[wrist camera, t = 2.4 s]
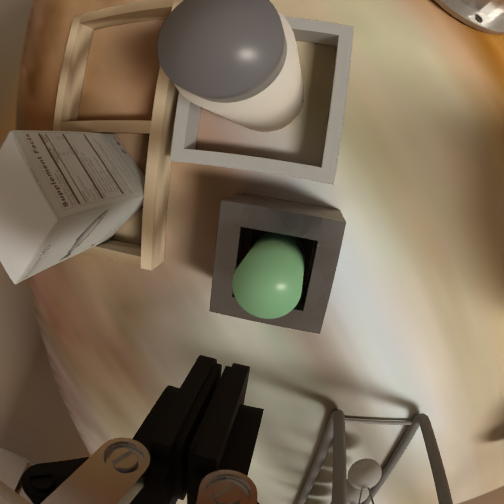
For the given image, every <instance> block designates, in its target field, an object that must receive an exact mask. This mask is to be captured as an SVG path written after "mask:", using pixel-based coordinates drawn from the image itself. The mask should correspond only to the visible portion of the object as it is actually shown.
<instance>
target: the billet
mask: <svg viewBox="0 0 504 504" xmlns="http://www.w3.org/2000/svg"><path fill="white" fill-rule="evenodd" d="M157 53H158V59H159V62H160V65H161V67H162V69H163V71H164V73H165V74H166V76H167V77H168V78H169V79H170V80H171V81H172V82H173V83H174V85H175V86H176V88H177V89H178V91H179V92H180V93H181V94H182V95H183V96H184V97H185V98H186V99H188V100H189V101H190V102H192V103H194V104H195V105H197V106H200V107H202V108H205V109H207V110H209V111H212V112H214V113H216V114H218V115H221V116H223V117H225V118H227V119H230V120H232V121H234V122H236V123H238V124H240V125H243V126H245V127H247V128H249V129H252V130H255V131H260V132H270V131H275V130H278V129H281V128H283V127H285V126H287V125H288V124H290V123H291V122H292V121H293V120H294V119H295V118H296V117H297V115H298V114H299V112H300V111H301V108H302V106H303V102H304V88H303V81H302V75H301V69H300V63H299V57H298V51H297V46H296V40H295V36H294V33H293V30H292V28H291V26H290V24H289V23H288V21H287V20H286V19H285V18H284V16H283V15H282V14H281V13H280V12H278V11H277V10H276V8H275V7H274V6H273V4H272V3H271V2H270V1H269V0H183V1H182V2H181V3H180V4H179V5H177V6H176V7H175V8H174V9H173V11H172V12H171V13H170V14H169V16H168V17H167V18H166V20H165V22H164V24H163V26H162V28H161V30H160V34H159V37H158V43H157Z"/></svg>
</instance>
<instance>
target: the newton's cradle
mask: <svg viewBox="0 0 504 504" xmlns="http://www.w3.org/2000/svg"><path fill="white" fill-rule="evenodd" d="M345 422H349V423H365V424H389V425H409V426H408V428H407V430H406V432H405V434H404V436H403V437H402V439H401V441H400V443H399V444H398V446H397V448H396V450H395V451H394V453H393V455H392V456H391V458H390V460H389V461H388V463H387V465H386V466H385V468H384V469H383V471H382V470H381V467H380V465H379V463H377V462H376V461H375V460H372V459H361V460H359V461H357V462H355V463H354V464H353V465H352V466H351V467H350V469H349V471H348V479H347V480H346V437H345ZM419 425H420V427H421V431H422V434H423V438H424V441H425V445H426V449H427V453H428V457H429V461H430V465H431V469H432V473H433V478H434V482H435V487H436V491H437V496H438V501H439V504H453V502H452V498H451V494H450V489H449V485H448V481H447V478H446V474H445V470H444V466H443V463H442V459H441V456H440V452H439V449H438V445H437V442H436V439H435V435H434V432H433V429H432V426H431V423H430V420H429V418H428V416H427V415H425V414H423V413H422V414H417V415H416V416H415V417H414V418H413V419H412V421H376V420H358V419H345V417H344V413H343V411H341V410H334V411H333V412H332V414H331V416H330V418H329V421H328V424H327V427H326V430H325V432H324V435H323V438H322V441H321V443H320V446H319V449H318V452H317V454H316V457H315V459H314V462H313V465H312V467H311V470H310V472H309V475H308V477H307V479H306V482H305V484H304V487H303V489H302V491H301V494H300V496H299V498H298V501H297V503H296V504H304V503H305V501H306V499H307V497H308V495H309V493H310V491H311V489H312V486H313V484H314V482H315V480H316V478H317V475H318V473H319V471H320V468H321V466H322V464H323V461H324V459H325V457H326V454H327V452H328V449H329V447H330V444H331V442H332V439H333V482H332V501H331V503H330V504H369V503H370V501H371V500H372V504H374V502H373V497H374V496H375V494H376V493H377V492H378V490H379V489H380V487H381V486H382V485H383V483H384V482H385V480H386V479H387V477H388V476H389V474H390V473H391V471H392V470H393V468H394V467H395V465H396V464H397V462H398V461H399V459H400V458H401V456H402V454H403V453H404V451H405V449H406V448H407V446H408V444H409V443H410V441H411V439H412V438H413V436H414V434H415V432H416V431H417V429H418V427H419ZM370 488H371V489H370Z"/></svg>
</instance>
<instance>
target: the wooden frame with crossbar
mask: <svg viewBox="0 0 504 504" xmlns="http://www.w3.org/2000/svg"><path fill="white" fill-rule="evenodd" d="M182 1H183V0H148V1H141V2H135V3H130V4H124V5H119V6H114V7H109V8H105V9H101V10H96V11H92V12H88V13H85V14H81V15H77V16H74V19H73V23H72V26H71V30H70V34H69V38H68V42H67V47H66V51H65V55H64V60H63V65H62V70H61V75H60V81H59V87H58V93H57V100H56V107H55V114H54V123H53V131H75V132H93V133H134V134H150V136H149V145H148V154H147V164H146V175H145V187H144V201H143V218H142V240H141V246H139V245H134V244H129V243H124V242H120V241H115V240H110V239H109V240H107V241H105V242H103V243H101V244H99V245H96V246H94V247H92V248H90V249H87V250H85V251H83V252H81V253H82V254H86V255H90V256H94V257H97V258H101V259H105V260H110V261H114V262H118V263H122V264H126V265H130V266H134V267H138V268H143V269H147V270H152V269H154V268H155V267H157V266H158V265H159V264H161V263H162V262H164V248H165V231H166V217H167V204H168V192H169V181H170V171H171V162H172V161H170V156H171V147H172V139H173V131H174V123H175V116H176V109H177V102H178V95H179V91H178V89H177V88H176V86H175V85H174V83H173V82H172V81H171V80H170V79H169V78H168V77H167V76H166V74H165V73H164V71H163V69H162V67H161V65H160V68H159V74H158V80H157V86H156V92H155V99H154V106H153V113H152V120H151V121H143V120H95V121H77V120H78V112H79V105H80V98H81V91H82V85H83V79H84V74H85V69H86V63H87V58H88V54H89V49H90V45H91V40H92V36H93V32H94V30H95V29H99V28H104V27H110V26H115V25H121V24H127V23H134V22H141V21H149V20H158V19H166V18H167V17H168V16H169V14H170V13H171V12H172V11H173V9H174V8H175V7H176V6H177V5H179V4H180V3H181V2H182Z"/></svg>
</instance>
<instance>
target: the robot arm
mask: <svg viewBox="0 0 504 504" xmlns="http://www.w3.org/2000/svg"><path fill="white" fill-rule="evenodd" d="M434 1H435V2H436V3H438V4H439V5H440V6H441V7H442V8H443V9H444V10H446V11H447V12H448V13H450V14H451V15H452V16H453V17H455V18H456V19H458V20H460V21H461V22H463V23H465V24H466V25H468V26H470V27H473V28H475V29H477V30H479V31H482V32H486V33H489V34H496V35H502V34H504V0H434ZM221 369H222V365H221V364H217V360H216V359H214V358H210V357H206V356H202V355H200V356H199V357H198V359H197V360H196V362H195V364H194V365H193V367H192V369H191V371H190V372H189V374H188V376H187V377H186V379H185V381H184V382H183V384H182V386H181V387H180V388H176V387H173V386H170V385H169V386H167V387H166V388H165V390H164V391H163V393H162V394H161V396H160V397H159V399H158V400H157V402H156V404H155V405H154V407H153V408H152V410H151V411H150V413H149V414H148V416H147V417H146V419H145V420H144V422H143V423H142V425H141V427H140V428H139V430H138V431H137V433H136V434H135V436H134V437H133V439H130V438H114V439H111V440H108V441H107V442H106V443H104V444H103V445H102V446H101V447H100V448H99V449H98V450H97V451H96V452H95V453H94V454H92V455H91V456H90V457H86V458H80V459H73V460H66V461H58V462H51V463H42V464H36V465H34V464H31V463H30V461H29V460H27V459H25V458H22V457H20V456H18V455H15V454H13V453H11V452H9V451H6V450H4V449H2V448H0V504H176V502H177V499H181V500H184V498H185V496H186V494H187V504H259V503H258V502H257V489H256V486H255V484H254V483H253V481H252V480H251V479H250V478H249V477H248V476H247V475H248V471H249V467H250V463H251V459H252V455H253V451H254V447H255V443H256V439H257V435H258V431H259V427H260V423H261V418H262V414H263V410H264V409H260V408H255V407H250V406H246V405H243V404H244V399H245V393H246V388H247V382H248V376H249V371H250V367H249V366H244V365H240V364H235V363H233V365H232V367H229V366H226V367H225V369H224V372H223V374H222V376H221Z"/></svg>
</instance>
